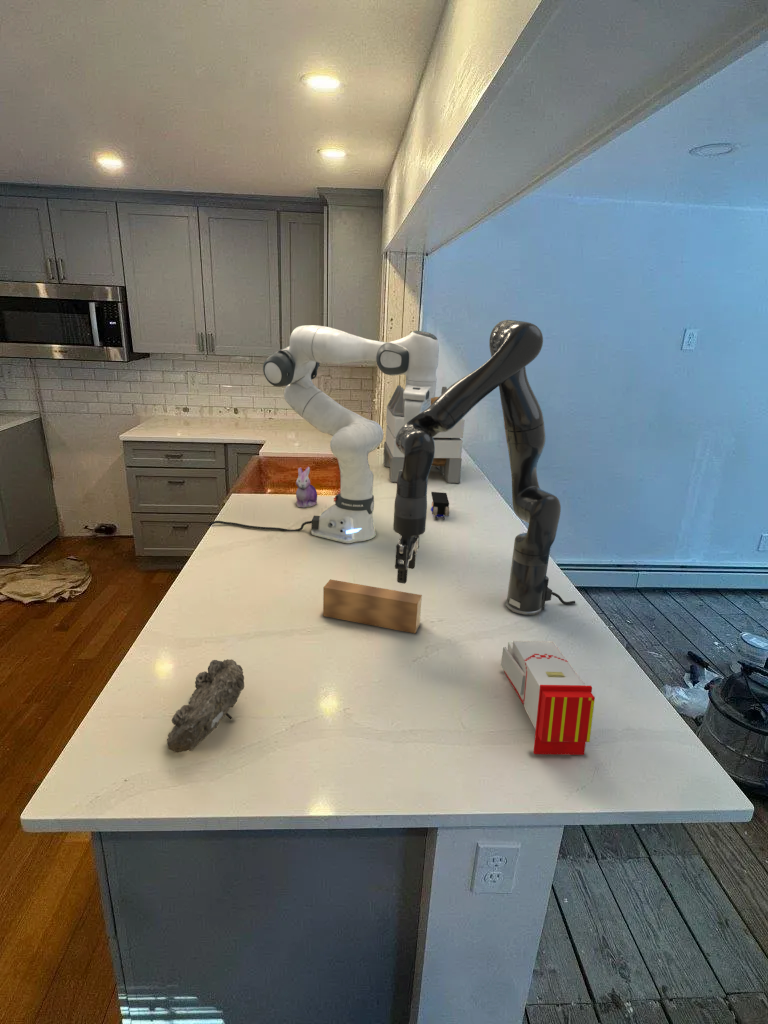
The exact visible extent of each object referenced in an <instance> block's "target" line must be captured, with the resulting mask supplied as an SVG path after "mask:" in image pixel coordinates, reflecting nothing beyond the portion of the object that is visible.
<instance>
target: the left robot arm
mask: <svg viewBox="0 0 768 1024" xmlns="http://www.w3.org/2000/svg"><path fill="white" fill-rule="evenodd" d="M439 346H440V345H439V340H438V338H437V336H436V335H435V334H433V333H431V332H428V331H422V330H413V331H411V332H410V333H408V334H407V335H405V336H404V337H401V338H398V339H395V340H391V341H382V340H374V339H368V338H365V337H363V336H358V335H355V334H353V333H350V332H346V331H343V330H341V329H338V328H334V327H330V326H324V325H317V324H316V325H315V324H308V325H307V324H306V325H305V324H304V325H299V326H296V327H295V328H294V329H293V330H292V332H291V333H290V337H289V345H288V346H286V347H284V348H281V349H279V350H277V351H275V352H273V353H271V354H270V355H269V356H268V357H267V358H266V359H265V360H264V362H263V364H262V371H263V375H264V377H265V380H267V382H268V383H269V384H270V385H271V386H273V387H278V388H283V387H285V388H284V391H283V398H284V400H285V402H286V403H287V404H288V406H290V408H291V409H292V410H293V411H294V412H295V413H296V414H298V415H299V416H300V417H301V418H302V419H304V420H305V421H306V422H307V423H309V424H310V425H311V426H313V427H314V428H315V429H316V430H318V431H319V432H321V433H323V434H326V435H329V436H332V437H331V438H330V441H329V447H330V451H331V454H332V455H333V456H334V457H335V458H336V460H337V463H338V468H339V474H340V475H339V476H340V488H339V489H340V490H339V491H338V492H337V494H336V495H335V496H334V497H333V502H334V504H333V505H331V506H329V507H328V508H326V509H325V510H323V512H321V514H320V515H313V517H312V519H311V520H308V521H305V522H303V523H302V524H301V525H300V527H299V528H296V529H290V528H289V529H288V528H283V527H276V526H275V527H274V526H273V527H272V526H257V525H248V524H243V523H238V522H231V521H225V520H224V521H223V520H214V521H211V522H210V523H208V525H207V526H208V527H212V526H213V525H216V524H220V525H221V524H222V525H229V526H237V527H241V528H246V529H254V530H268V531H269V530H271V531H281V532H300V531H302V530H303V529H304V527H305V526H306V525H310V524H311V530H310V533H311V536H315V537H319V538H323V539H326V540H330V541H336V542H339V543H343V544H352V543H357V542H365V541H368V540H372V539H373V538H375V537H376V535H377V532H376V528H375V523H374V513H373V512H374V509H375V496H374V473H373V471H372V470H371V468H370V464H369V454H370V453H371V452H374V451H375V450H376V449H377V448H379V446H380V445H381V444H382V442H383V440H384V434H385V433H384V429H383V428H382V426H381V425H380V423H378V422H377V421H375V420H371V419H368V418H366V417H364V416H362V415H361V414H358V413H357V412H355V411H353V410H351V409H349V408H347V407H345V406H343V405H342V404H340V403H339V402H338V401H336V400H334V399H333V398H332V397H330V395H328V394H327V393H326V392H324V391H323V390H322V389H320V388H319V387H317V386H316V385H315V384H314V383H313V379H315V378H317V375H318V370H319V368H320V364H323V365H324V364H325V365H341V364H348V363H349V364H350V363H354V362H355V363H356V362H363V361H365V362H366V361H368V362H369V361H370V362H376V366H377V368H378V369H379V371H380V372H381V373H382V374H384V375H387V376H392V377H393V376H403V375H404V376H405V386H404V393H403V399H406V400H405V406H404V421H405V424H406V423H407V422H408V421H410V420H411V419H412V418H414V417H415V416H417V415H418V414H419V413H421V412H423V411H424V410H426V409H427V408H429V407H430V406H431V398H434V397H436V391H437V390H436V389H437V369H438V366H439V357H440V356H439V354H440V352H439V351H440V350H439Z"/></svg>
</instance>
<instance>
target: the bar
mask: <svg viewBox="0 0 768 1024" xmlns="http://www.w3.org/2000/svg"><path fill="white" fill-rule="evenodd" d="M322 591H323V592H322V593H323V595H322V596H323V597H322V601H323V602H322V603H323V604H322V616H323V617H326V618H331V619H336V620H341V621H342V620H343V621H348V622H352V623H358V624H364V625H368V626H374V627H379V628H385V629H389V630H390V629H391V630H395V631H399V632H404V633H405V632H406V633H410V634H416V633H417V631H418V629H419V627H420V624H421V611H422V599H423V598H422V597H423V595H422V594H418V593H412V592H406V591H400V590H394V589H390V588H389V589H388V588H383V587H378V586H377V587H376V586H371V585H366V584H360V583H354V582H347V581H343V580H337V579H336V580H335V579H329V580H328V581H327V582H326V584H325V585H324V586H323V590H322Z"/></svg>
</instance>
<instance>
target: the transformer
mask: <svg viewBox="0 0 768 1024" xmlns="http://www.w3.org/2000/svg"><path fill="white" fill-rule="evenodd" d="M447 389H448V388H447V386H442V387H441V392H440V393H441V394H442V393H443V392H444V391H446V390H447ZM404 390H405V388H403V387H402V385H399V384H398V385H397V386H396V388H395V390H394V392H393V394H392V395H391V398H390V400H389V402H388V404H387V405H386V413H385V414H386V415H385V423H386V428H385V438H384V442H383V466H384V467H388V468H389V475H388V476H389V477H388V478H389V480H390V482H391V483H397V476H398V472H399V471H400V469H402V468H403V465H404V454H403V453H401V452H400V451H399V450H398V448H397V446H396V436H397V434H398V432H399V430H400V429H401V428H402V427H403V426H404V425H405V421H404V406H405V400H406V399H403V393H404ZM441 394H440V395H441ZM438 397H439V396H435V397H434V398H431V404H432V403H433V402H434V401H435V400H436V399H437V398H438ZM464 429H465V419H464V418H462V419H461V420H460V421H459V422H458V423H457V424H456V425H455V426H454V427H453V428H452V429H450V430H449V431H447V432H440V433H438V434H436V435H435V436H434V437H433V439H434V444H435V453H434V458H433V462H432V466H431V467H436V468H437V470H438V469H439V473H440V474H441V475H443V478H444V479H445V481H446V482H447V483H449V484H455V483H456V484H459V483H461V472H462V461H463V460H462V453H463V442H464V441H463V440H462V439H463V438H464V431H465V430H464Z"/></svg>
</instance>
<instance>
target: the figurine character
mask: <svg viewBox="0 0 768 1024" xmlns="http://www.w3.org/2000/svg"><path fill="white" fill-rule="evenodd" d="M430 494H431V498H432V502H431V508H430V511H431V515H432V516H433V517H434V518H435V520H437V521H438V518H442V520H443V521H445V520H446V518H445V517H450V501H449V498H448V494H447V492H440V491H431V493H430Z"/></svg>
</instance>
